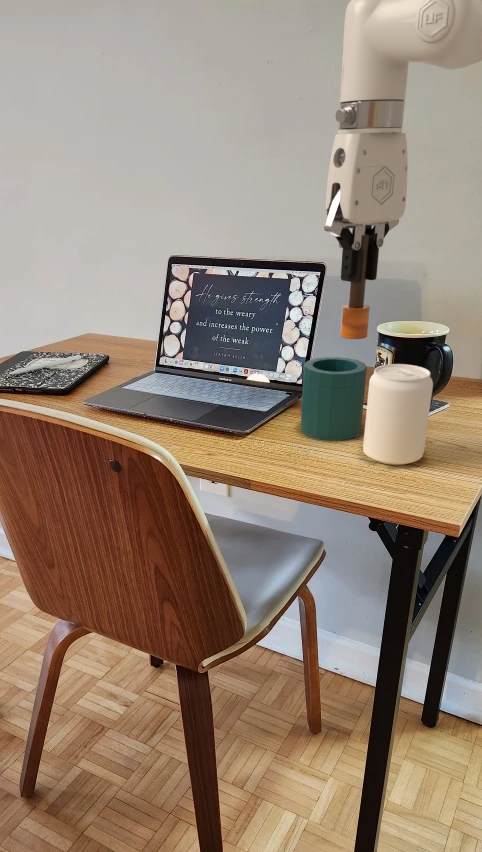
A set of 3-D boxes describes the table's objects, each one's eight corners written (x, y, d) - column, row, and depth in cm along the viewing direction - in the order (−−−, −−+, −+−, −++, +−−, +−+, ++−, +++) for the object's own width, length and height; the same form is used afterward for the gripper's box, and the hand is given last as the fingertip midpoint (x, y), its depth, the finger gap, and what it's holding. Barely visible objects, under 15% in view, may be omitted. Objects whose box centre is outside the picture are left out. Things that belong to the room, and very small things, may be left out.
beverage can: (391, 440, 100) (400, 359, 95) (435, 458, 94) (448, 373, 89) (350, 452, 96) (357, 369, 91) (393, 472, 90) (404, 384, 85)
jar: (366, 423, 106) (372, 360, 102) (352, 444, 99) (358, 376, 95) (310, 416, 110) (314, 354, 105) (293, 435, 103) (296, 370, 98)
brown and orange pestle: (369, 334, 94) (378, 233, 89) (363, 340, 92) (372, 236, 86) (344, 332, 96) (351, 232, 90) (337, 338, 93) (343, 235, 87)
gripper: (345, 118, 75) (334, 291, 84) (439, 119, 83) (421, 276, 91) (299, 122, 81) (293, 283, 89) (392, 122, 89) (378, 270, 97)
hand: (358, 278), depth 90 cm, fingers closed on brown and orange pestle, 2 cm apart
